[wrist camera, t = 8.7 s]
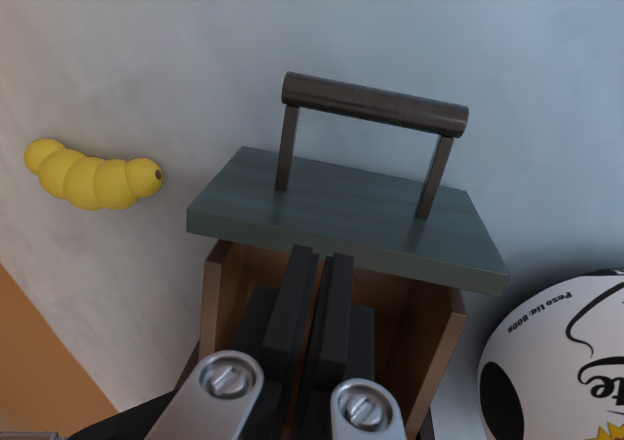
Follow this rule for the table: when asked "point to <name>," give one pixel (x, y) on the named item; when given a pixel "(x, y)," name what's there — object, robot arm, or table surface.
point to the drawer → (352, 238)
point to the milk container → (558, 364)
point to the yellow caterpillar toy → (91, 176)
